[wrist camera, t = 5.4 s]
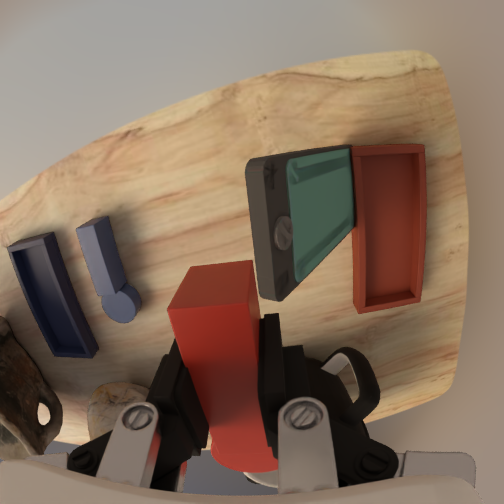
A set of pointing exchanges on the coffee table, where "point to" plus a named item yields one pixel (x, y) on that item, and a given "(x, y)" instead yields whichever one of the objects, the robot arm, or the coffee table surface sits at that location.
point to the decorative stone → (111, 405)
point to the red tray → (388, 225)
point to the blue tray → (52, 296)
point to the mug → (337, 396)
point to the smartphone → (297, 213)
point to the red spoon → (224, 359)
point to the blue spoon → (108, 270)
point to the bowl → (23, 402)
